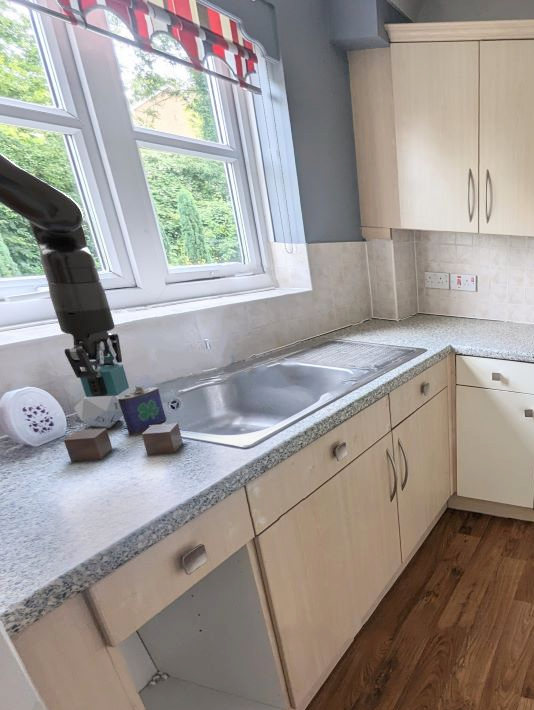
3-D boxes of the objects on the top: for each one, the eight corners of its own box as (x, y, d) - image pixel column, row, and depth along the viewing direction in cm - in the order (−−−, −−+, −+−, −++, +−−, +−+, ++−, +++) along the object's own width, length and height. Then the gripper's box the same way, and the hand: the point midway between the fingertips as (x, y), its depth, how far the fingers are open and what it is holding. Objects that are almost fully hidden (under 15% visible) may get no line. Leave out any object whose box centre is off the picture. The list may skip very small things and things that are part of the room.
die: (84, 438, 105) (108, 403, 105) (57, 415, 106) (80, 380, 105) (121, 435, 113) (143, 403, 113) (95, 414, 114) (117, 382, 114)
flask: (160, 419, 115) (150, 379, 111) (171, 420, 115) (161, 380, 111) (125, 434, 106) (112, 391, 103) (136, 435, 106) (123, 392, 102)
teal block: (86, 397, 88) (78, 372, 87) (99, 389, 93) (92, 365, 91) (117, 395, 90) (110, 371, 88) (129, 387, 94) (122, 364, 92)
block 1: (71, 461, 94) (63, 440, 92) (84, 451, 98) (77, 430, 96) (101, 459, 95) (94, 437, 93) (112, 448, 100) (106, 428, 98)
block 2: (147, 455, 98) (141, 434, 96) (156, 445, 102) (151, 424, 100) (174, 452, 99) (169, 431, 98) (182, 442, 104) (178, 422, 102)
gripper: (79, 300, 90) (103, 380, 96) (31, 312, 78) (62, 404, 84) (124, 300, 93) (145, 379, 99) (85, 312, 80) (112, 401, 86)
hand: (107, 390), depth 91 cm, fingers closed on teal block, 5 cm apart
